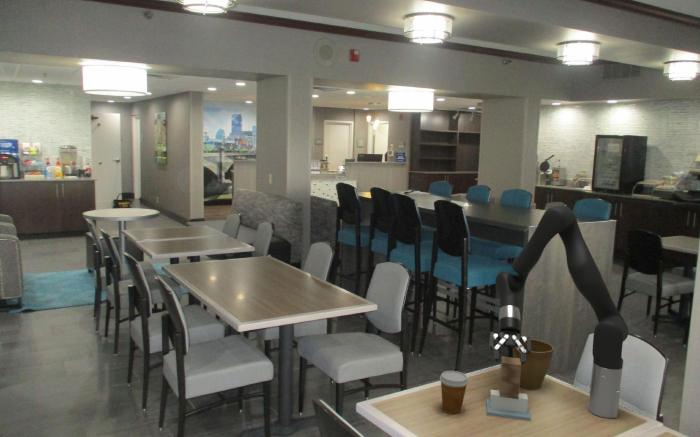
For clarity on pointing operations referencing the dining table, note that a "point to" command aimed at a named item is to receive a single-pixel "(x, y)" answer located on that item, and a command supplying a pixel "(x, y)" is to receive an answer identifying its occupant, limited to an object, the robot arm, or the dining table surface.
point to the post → (510, 377)
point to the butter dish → (508, 406)
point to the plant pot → (534, 363)
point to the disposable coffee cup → (453, 390)
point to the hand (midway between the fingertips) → (509, 362)
